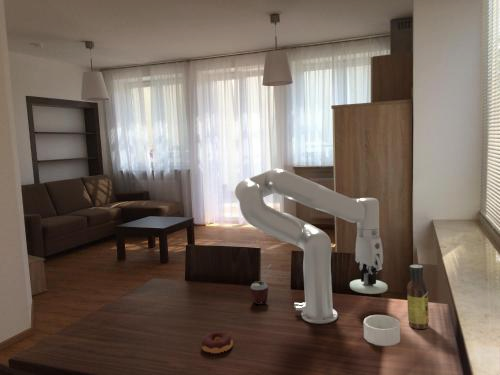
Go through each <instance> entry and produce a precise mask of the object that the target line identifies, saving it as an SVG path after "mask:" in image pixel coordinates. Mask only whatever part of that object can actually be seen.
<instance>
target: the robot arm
mask: <svg viewBox="0 0 500 375" xmlns="http://www.w3.org/2000/svg"><path fill="white" fill-rule="evenodd" d="M234 194H235V198H236V199H237V201H238V202H239V209H240V212H241V214H242V217H243V218H244V220H245V221H246V222H247V223H248V224H249V225H251V226H252V227H253V228H256V229H257V230H259V231H262V232H264V233H265V234H268V235H270V236H272V237H274V238H276V239H278V240H279V241H280V242H283V243H285V244H286V243H287V244H291V245H294V246H296V247H298V248H300V249H301V250H302V251H303V264H302V267H303V270H302V272H303V283H304V284H303V286H304V302H301V303H300V302H294V304H293V307H294V309H295V311H301V318H302V319H303V320H304V321H306V322H307V323H311V324H320V325H322V324H328V323H329V324H330V323H332V322H334V321H336V320H337V319H338V312H337V311H336V310H335V309H334V308H333V306H334V305H333V287H332V285H333V284H332V272H331V270H332V268H331V262H332V261H331V257H332V248H333V247H332V242H331V238H330V236H329V235H328V234H327V233H326V232H325V231H323V230H322V229H320V228H318V227H316V226H314V225H312V224H310V223H308V222H306V221H305V220H302V219H300V218H298V217H296V216H295V215H292V214H290V213H288V212H280V211H279V210H276V209H275V208H273V207H270V206H269V205H267V204H266V203H265V200H264V198H266V197H269V196H271V195H273V194H277V195H280V196H282V197H284V198H286V199H289V200H291V201H295V202H297V203H299V204H302V205H303V206H306V207H308V208H312V209H315V210H318V211H321V212H324V213H326V214H330V215H332V216H334V217H337V218H340V219H342V220H345V221H347V222H350V223H351V224H352V223H353V224H354V223H355V224H356V233H357V234H356V238H355V239H356V240H355V258H354V260H355V262H356V263H357V264H358V267H359V270H360V279H361V282H364V273H369V274H368V285H373V284H376V280H377V274H378V272H379V271H381V270H383V266H382V265H383V264H384V254H383V252H384V251H383V244H382V239H381V237H380V202H379V200H378V199H377V198H375V197H361V198H351V197H349V196H346V195H344V194H341V193H339V192H338V191H337V192H336V191H334V190H332V189H330V188H328V187H326V186H324V185H321V184H320V183H317V182H315V181H312V180H309V178H305V177H302V176H300V175H297V174H296V173H294V172H291V171H288V170H286V169H281V168H273V169H270V170H268V171H264V172H262V173H259V174H257V175H253V176H251V177H249V178H246V179H244V180H241V181H240V182H238V183H237V185H236V186H235V190H234Z"/></svg>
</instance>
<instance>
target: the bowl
mask: <svg viewBox="0 0 500 375" xmlns="http://www.w3.org/2000/svg"><path fill="white" fill-rule="evenodd" d="M363 338H364V339H365V340H366V341H367V342H368V343H370V344H372V345H375V346H381V347H388V346H389V347H390V346H395V345H397V344H398V343H400V342H401V322H400V320H399V319H397V318H396V317H393V316H390V315H387V314H373V315H368V316H366V317H365V318H364V320H363Z"/></svg>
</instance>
